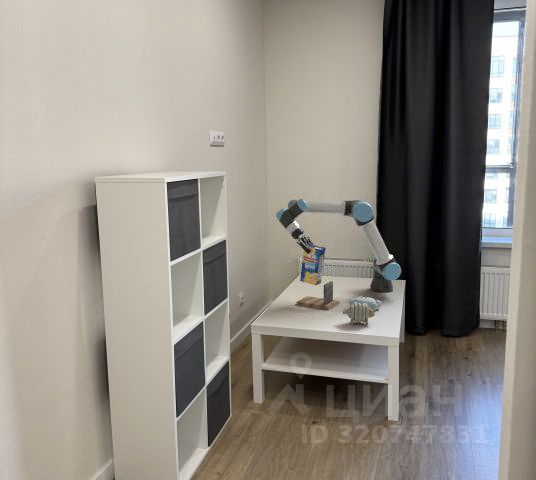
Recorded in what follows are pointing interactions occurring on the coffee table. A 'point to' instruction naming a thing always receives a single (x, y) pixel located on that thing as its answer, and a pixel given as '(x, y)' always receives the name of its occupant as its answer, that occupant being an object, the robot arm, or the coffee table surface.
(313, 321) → the coffee table surface
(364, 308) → the toy sheep
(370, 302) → the figurine
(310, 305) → the wooden stand
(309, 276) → the beverage box
